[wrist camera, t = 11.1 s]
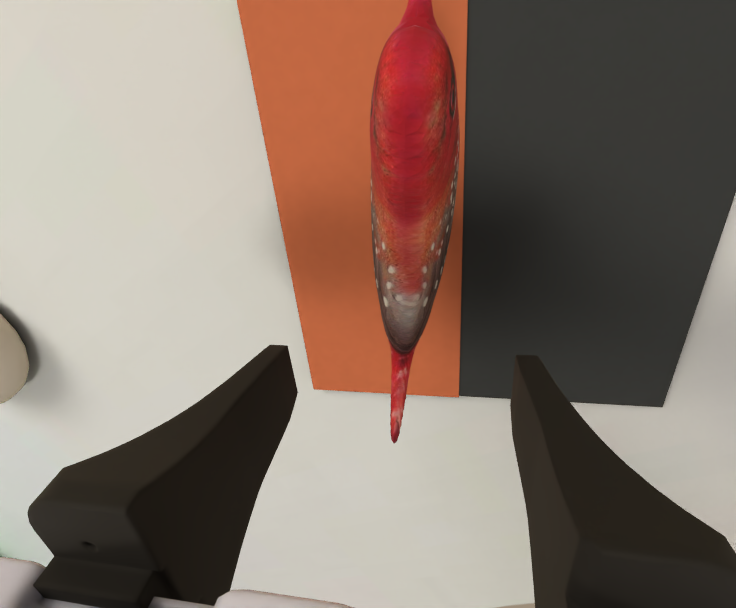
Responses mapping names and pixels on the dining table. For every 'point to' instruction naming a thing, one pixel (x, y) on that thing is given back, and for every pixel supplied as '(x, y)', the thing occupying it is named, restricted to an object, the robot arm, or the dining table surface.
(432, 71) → the decorative bird figurine
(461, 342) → the orange and black board
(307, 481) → the dining table surface
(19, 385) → the donut
